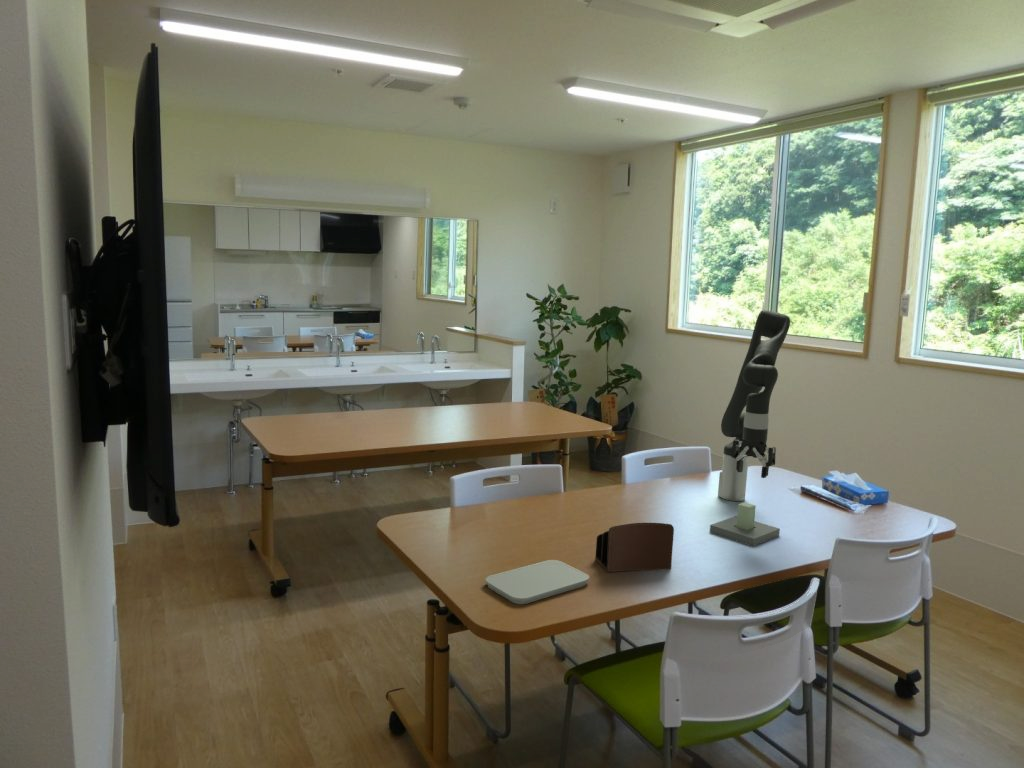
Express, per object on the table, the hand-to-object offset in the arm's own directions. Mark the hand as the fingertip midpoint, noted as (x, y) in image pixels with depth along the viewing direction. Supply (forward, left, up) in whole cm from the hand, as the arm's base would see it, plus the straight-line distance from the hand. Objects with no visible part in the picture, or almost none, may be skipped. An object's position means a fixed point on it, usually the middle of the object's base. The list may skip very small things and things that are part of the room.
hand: (751, 474), depth 243 cm
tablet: (-13, -83, -21) cm, 87 cm away
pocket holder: (-1, 0, -20) cm, 20 cm away
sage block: (-1, 0, -20) cm, 20 cm away
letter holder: (-6, -51, -21) cm, 55 cm away
